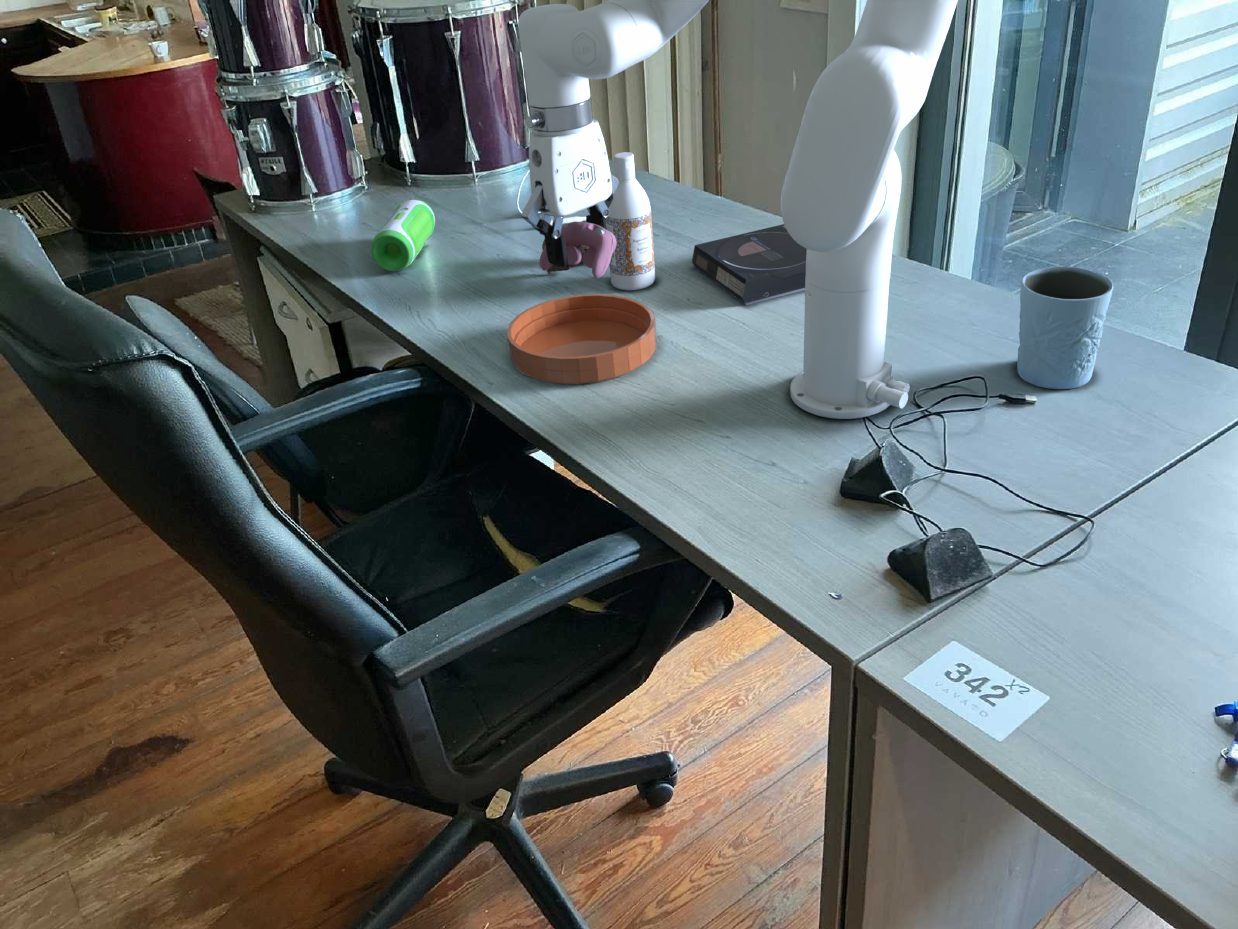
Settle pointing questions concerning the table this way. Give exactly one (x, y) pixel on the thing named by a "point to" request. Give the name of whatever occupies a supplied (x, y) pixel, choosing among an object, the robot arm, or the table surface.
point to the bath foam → (630, 229)
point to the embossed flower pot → (1061, 325)
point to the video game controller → (589, 235)
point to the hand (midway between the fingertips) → (578, 254)
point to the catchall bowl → (582, 338)
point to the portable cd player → (754, 264)
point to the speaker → (403, 235)
